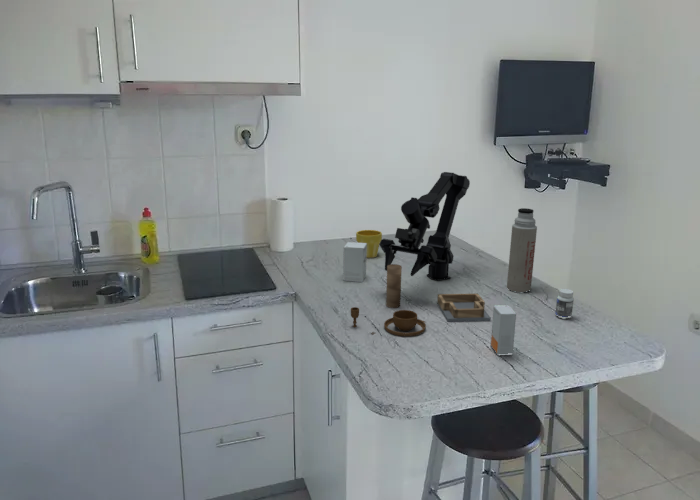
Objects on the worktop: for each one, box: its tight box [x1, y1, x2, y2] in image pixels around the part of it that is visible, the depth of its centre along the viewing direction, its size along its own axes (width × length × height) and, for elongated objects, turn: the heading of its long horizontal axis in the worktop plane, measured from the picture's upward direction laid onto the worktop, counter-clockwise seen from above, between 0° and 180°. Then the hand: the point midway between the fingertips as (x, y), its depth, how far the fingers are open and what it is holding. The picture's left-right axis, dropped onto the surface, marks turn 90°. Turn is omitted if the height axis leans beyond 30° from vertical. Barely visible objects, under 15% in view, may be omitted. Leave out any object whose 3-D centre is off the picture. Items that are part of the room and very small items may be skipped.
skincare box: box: [490, 304, 517, 354], centre depth 152 cm, size 6×4×12 cm
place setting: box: [350, 306, 427, 338], centre depth 169 cm, size 18×20×6 cm
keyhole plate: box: [436, 292, 492, 323], centre depth 179 cm, size 14×13×4 cm
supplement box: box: [342, 241, 368, 283], centre depth 208 cm, size 7×7×13 cm
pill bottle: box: [554, 288, 575, 317], centre depth 176 cm, size 5×5×8 cm
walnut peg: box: [385, 263, 403, 309], centre depth 183 cm, size 4×4×13 cm
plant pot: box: [355, 229, 383, 259], centre depth 236 cm, size 10×10×10 cm
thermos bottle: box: [506, 207, 538, 293], centre depth 197 cm, size 8×8×28 cm
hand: (398, 272), depth 184 cm, fingers open, 9 cm apart
